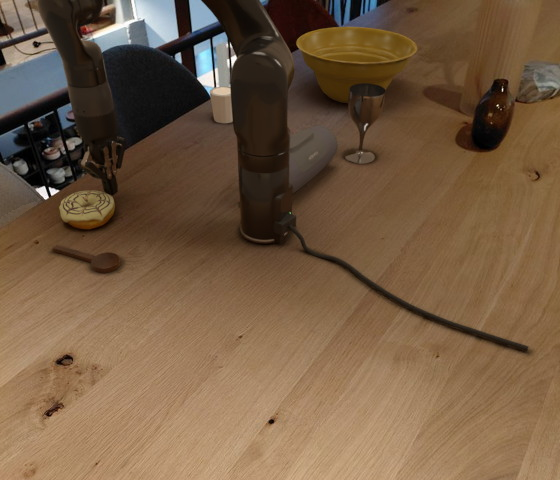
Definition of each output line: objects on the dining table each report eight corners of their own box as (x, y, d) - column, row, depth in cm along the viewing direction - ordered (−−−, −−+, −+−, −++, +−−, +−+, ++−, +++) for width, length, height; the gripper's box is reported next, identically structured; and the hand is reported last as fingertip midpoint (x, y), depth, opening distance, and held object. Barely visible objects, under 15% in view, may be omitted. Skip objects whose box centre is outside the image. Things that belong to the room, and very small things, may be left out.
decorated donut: (57, 232, 110) (52, 215, 108) (68, 204, 118) (63, 187, 115) (112, 231, 111) (107, 213, 108) (119, 203, 118) (115, 186, 116)
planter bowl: (333, 67, 177) (337, 18, 167) (428, 91, 164) (437, 39, 154) (272, 99, 159) (272, 45, 149) (373, 128, 146) (380, 71, 136)
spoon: (126, 260, 104) (125, 256, 103) (110, 275, 101) (108, 271, 100) (63, 243, 108) (62, 238, 107) (46, 257, 105) (44, 252, 104)
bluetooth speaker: (248, 153, 113) (249, 199, 120) (288, 165, 110) (287, 211, 117) (304, 114, 126) (302, 158, 134) (341, 124, 123) (338, 168, 130)
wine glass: (338, 160, 133) (344, 93, 122) (348, 146, 138) (355, 81, 127) (371, 166, 131) (380, 99, 120) (380, 152, 136) (389, 86, 125)
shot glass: (234, 125, 146) (232, 97, 141) (208, 122, 147) (206, 94, 142) (240, 114, 151) (239, 87, 146) (215, 112, 152) (213, 84, 147)
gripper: (87, 124, 99) (107, 212, 112) (130, 97, 108) (145, 182, 120) (52, 116, 101) (76, 204, 114) (98, 91, 110) (115, 175, 122)
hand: (111, 193), depth 117 cm, fingers closed
